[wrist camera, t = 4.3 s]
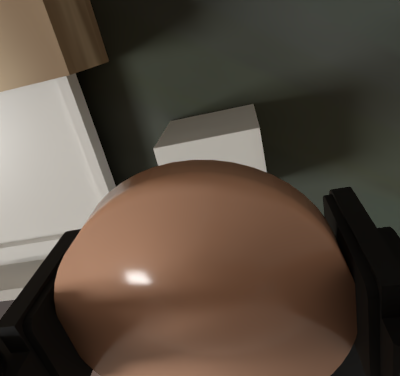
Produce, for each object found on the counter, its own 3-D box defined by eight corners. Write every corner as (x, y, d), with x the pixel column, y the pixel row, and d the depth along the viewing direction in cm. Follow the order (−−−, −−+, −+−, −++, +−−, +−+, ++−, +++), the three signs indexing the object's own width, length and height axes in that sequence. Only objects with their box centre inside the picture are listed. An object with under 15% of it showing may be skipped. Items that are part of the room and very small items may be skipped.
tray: (60, 20, 18) (24, 20, 15) (141, 250, 24) (127, 284, 21) (-115, 68, 20) (-179, 77, 17) (-1, 270, 26) (-33, 305, 23)
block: (253, 103, 20) (259, 127, 16) (266, 181, 22) (275, 223, 18) (169, 121, 21) (153, 148, 17) (189, 195, 23) (179, 237, 19)
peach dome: (332, 132, 8) (354, 163, 6) (347, 353, 11) (364, 406, 9) (36, 187, 9) (-1, 222, 8) (127, 370, 12) (113, 419, 11)
